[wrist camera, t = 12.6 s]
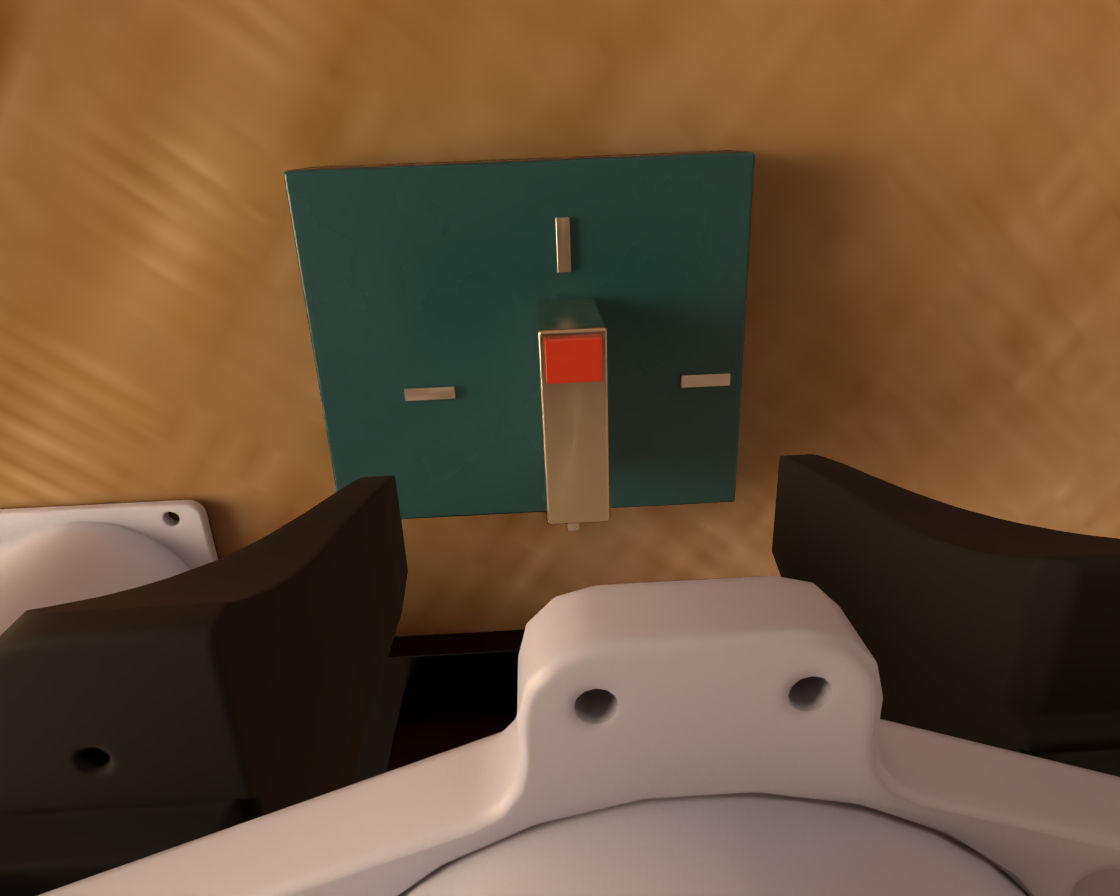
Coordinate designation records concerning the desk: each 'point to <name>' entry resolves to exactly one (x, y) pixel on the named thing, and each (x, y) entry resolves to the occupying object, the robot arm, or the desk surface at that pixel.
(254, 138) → the desk surface
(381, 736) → the faucet stand
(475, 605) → the desk surface
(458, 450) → the panel
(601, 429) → the tan rectangular block
